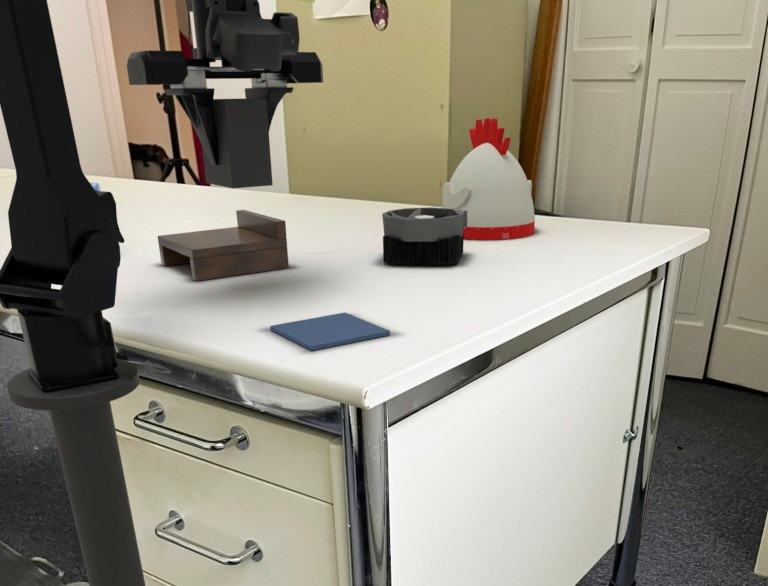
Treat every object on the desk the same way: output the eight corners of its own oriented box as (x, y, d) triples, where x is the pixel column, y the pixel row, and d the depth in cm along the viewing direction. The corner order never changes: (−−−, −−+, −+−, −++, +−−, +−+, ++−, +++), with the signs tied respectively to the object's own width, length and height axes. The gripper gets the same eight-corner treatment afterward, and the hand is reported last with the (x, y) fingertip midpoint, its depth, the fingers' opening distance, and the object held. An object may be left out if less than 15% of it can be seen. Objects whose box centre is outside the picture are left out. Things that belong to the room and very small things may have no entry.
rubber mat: (311, 350, 68) (310, 346, 68) (270, 330, 74) (269, 325, 74) (390, 335, 72) (390, 330, 72) (345, 316, 78) (345, 312, 78)
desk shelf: (196, 281, 93) (189, 231, 90) (161, 264, 102) (154, 218, 99) (289, 267, 99) (285, 220, 96) (248, 253, 108) (244, 209, 105)
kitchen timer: (493, 221, 127) (498, 115, 120) (554, 232, 117) (562, 117, 110) (421, 230, 121) (421, 119, 113) (478, 243, 110) (482, 122, 103)
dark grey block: (232, 188, 81) (224, 99, 77) (205, 183, 86) (196, 99, 83) (272, 185, 83) (266, 98, 80) (244, 180, 89) (237, 98, 85)
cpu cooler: (375, 217, 95) (390, 205, 104) (376, 266, 98) (390, 250, 107) (462, 217, 94) (469, 205, 102) (460, 268, 96) (468, 252, 105)
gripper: (154, -31, 66) (179, 174, 73) (348, -19, 75) (353, 163, 82) (113, -16, 74) (139, 167, 82) (292, -7, 83) (301, 157, 91)
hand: (236, 163), depth 84 cm, fingers closed on dark grey block, 4 cm apart
